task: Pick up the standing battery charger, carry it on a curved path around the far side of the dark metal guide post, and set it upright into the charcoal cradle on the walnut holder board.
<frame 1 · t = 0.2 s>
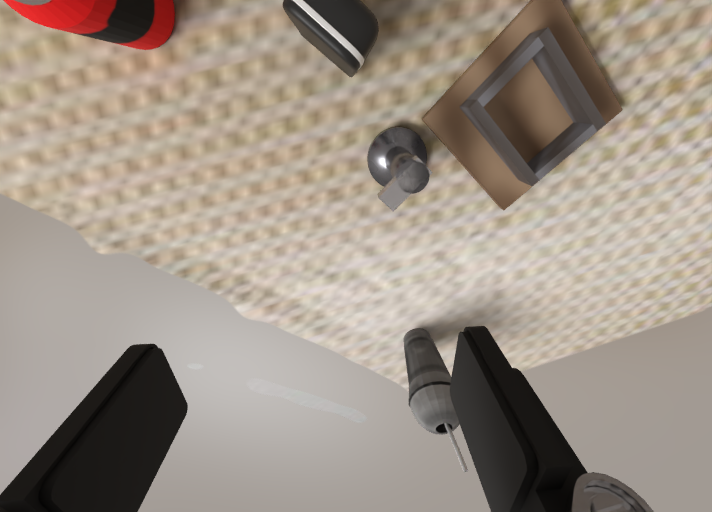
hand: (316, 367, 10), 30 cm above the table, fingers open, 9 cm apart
guide post: (396, 158, 36), on the table
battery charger: (336, 39, 30), on the table
soda can: (136, 3, 28), on the table
holder: (518, 114, 34), on the table
beverage cup: (416, 337, 50), on the table
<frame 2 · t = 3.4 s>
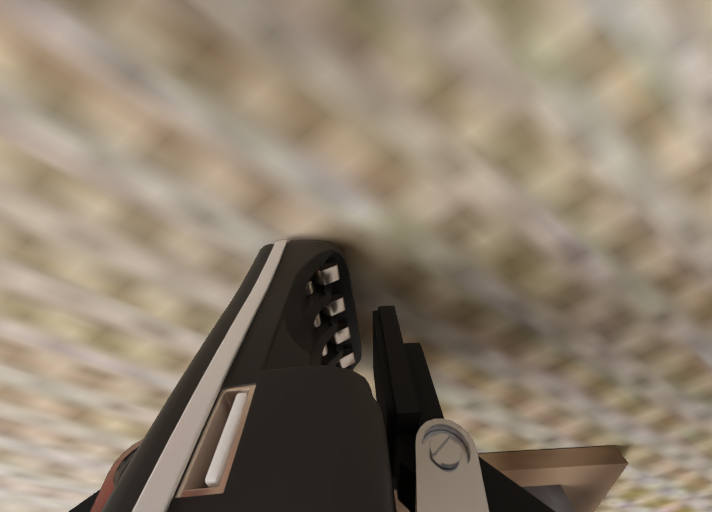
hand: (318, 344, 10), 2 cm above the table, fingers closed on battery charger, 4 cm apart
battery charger: (326, 301, 13), on the table, touching gripper
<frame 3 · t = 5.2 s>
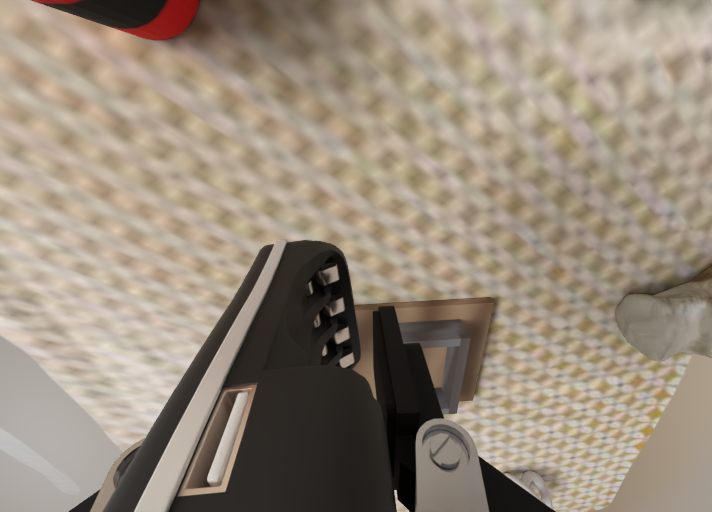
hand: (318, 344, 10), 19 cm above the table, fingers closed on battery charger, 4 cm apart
knot: (514, 474, 51), on the table
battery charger: (326, 302, 13), point 16 cm above the table, touching gripper
ceramic sculpture: (660, 297, 35), on the table
holder: (414, 354, 36), on the table
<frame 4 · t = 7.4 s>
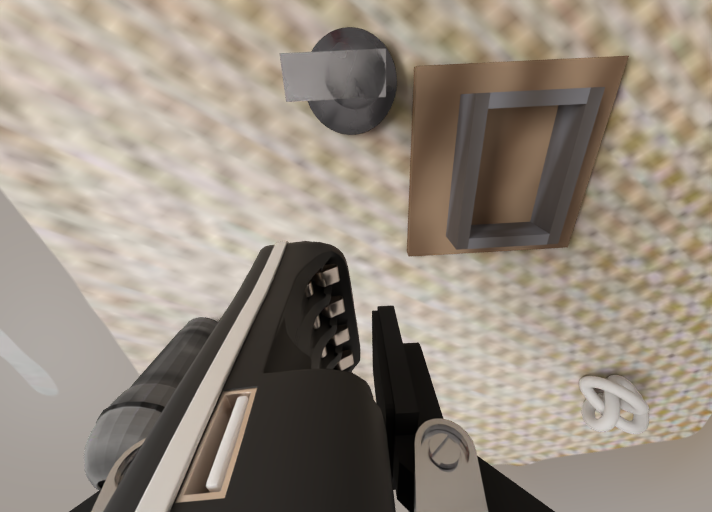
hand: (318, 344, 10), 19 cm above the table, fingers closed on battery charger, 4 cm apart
knot: (593, 380, 41), on the table
guide post: (350, 85, 23), on the table
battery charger: (326, 303, 13), point 16 cm above the table, touching gripper
holder: (498, 167, 27), on the table
beverage cup: (206, 331, 34), on the table
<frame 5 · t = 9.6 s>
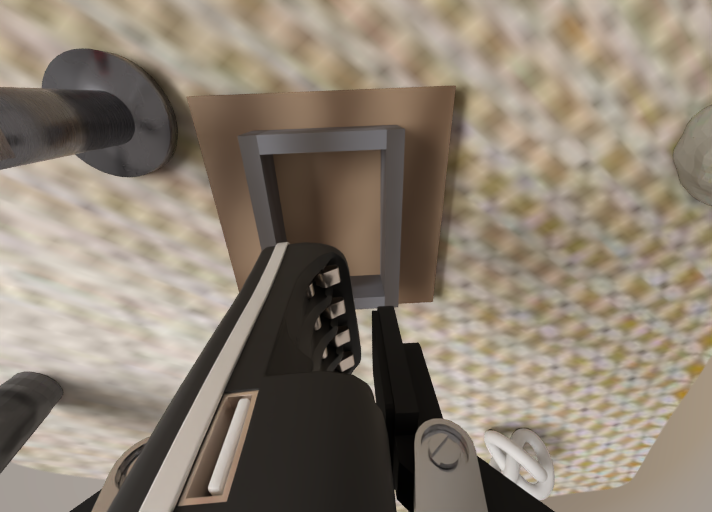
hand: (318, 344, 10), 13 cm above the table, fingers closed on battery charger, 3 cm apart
knot: (502, 433, 37), on the table
guide post: (119, 117, 19), on the table
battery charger: (326, 304, 13), point 11 cm above the table, touching gripper
holder: (332, 213, 22), on the table
beverage cup: (39, 385, 30), on the table
when the fingers open (5 cm above the table, at t = 11.4 s): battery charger drops 1 cm, resting on holder.
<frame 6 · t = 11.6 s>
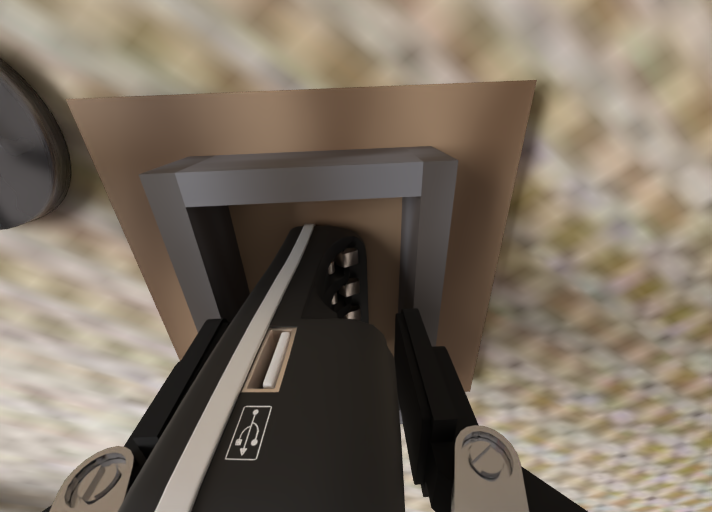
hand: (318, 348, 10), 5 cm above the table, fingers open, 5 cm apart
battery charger: (341, 285, 14), point 1 cm above the table, touching holder
holder: (325, 275, 15), on the table
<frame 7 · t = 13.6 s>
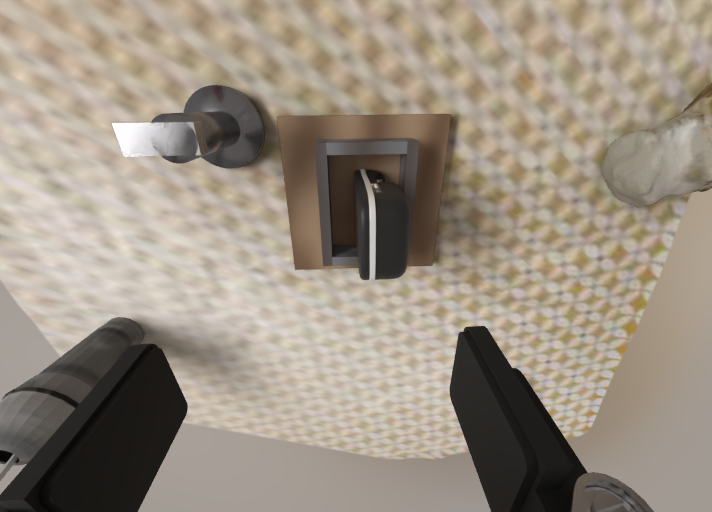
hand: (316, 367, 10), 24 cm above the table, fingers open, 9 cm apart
guide post: (227, 128, 28), on the table
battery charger: (372, 200, 31), point 1 cm above the table, touching holder
ceramic sculpture: (653, 146, 31), on the table
holder: (363, 197, 32), on the table
beverage cup: (126, 330, 39), on the table
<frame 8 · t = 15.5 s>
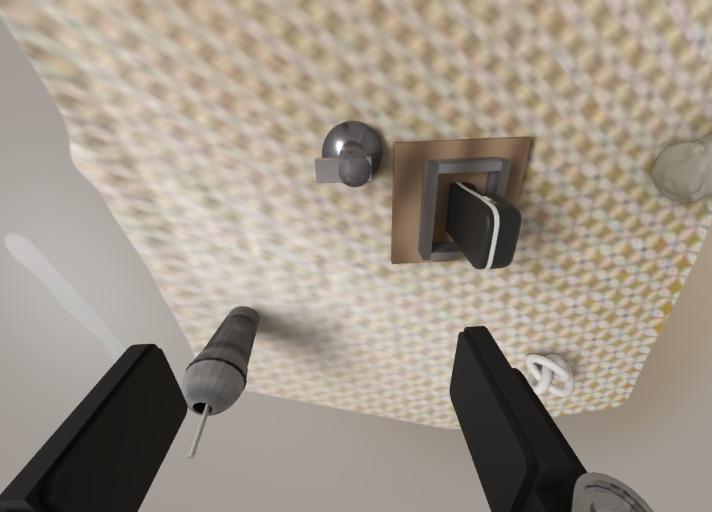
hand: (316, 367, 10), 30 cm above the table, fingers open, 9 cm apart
knot: (537, 358, 53), on the table
guide post: (352, 153, 35), on the table
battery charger: (461, 206, 38), point 1 cm above the table, touching holder
ceramic sculpture: (695, 153, 37), on the table
holder: (452, 204, 39), on the table
beverage cup: (244, 317, 47), on the table
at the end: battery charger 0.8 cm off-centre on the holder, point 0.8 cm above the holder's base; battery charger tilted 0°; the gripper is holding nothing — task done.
